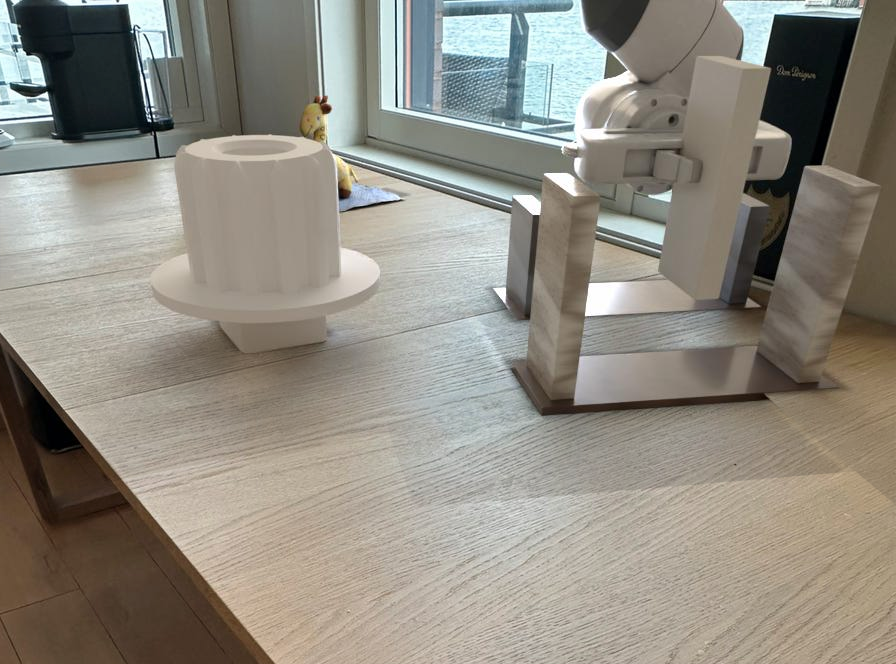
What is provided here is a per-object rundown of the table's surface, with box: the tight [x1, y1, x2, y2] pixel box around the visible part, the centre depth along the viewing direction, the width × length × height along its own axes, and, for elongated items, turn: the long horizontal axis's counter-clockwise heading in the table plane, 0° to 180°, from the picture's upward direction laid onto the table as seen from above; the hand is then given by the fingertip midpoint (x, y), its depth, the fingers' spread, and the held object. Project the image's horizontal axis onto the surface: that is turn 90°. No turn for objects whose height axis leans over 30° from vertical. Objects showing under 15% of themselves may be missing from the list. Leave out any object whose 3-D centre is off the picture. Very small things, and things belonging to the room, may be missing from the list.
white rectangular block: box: [657, 56, 772, 300], centre depth 77 cm, size 2×9×18 cm, turn 10°
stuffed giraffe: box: [299, 94, 404, 213], centre depth 145 cm, size 16×18×16 cm
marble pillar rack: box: [509, 164, 882, 416], centre depth 83 cm, size 31×12×19 cm, turn 100°
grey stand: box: [492, 192, 771, 321], centre depth 104 cm, size 31×12×12 cm, turn 100°
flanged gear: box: [149, 133, 381, 355], centre depth 93 cm, size 25×25×19 cm
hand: (714, 172), depth 76 cm, fingers closed on white rectangular block, 2 cm apart
